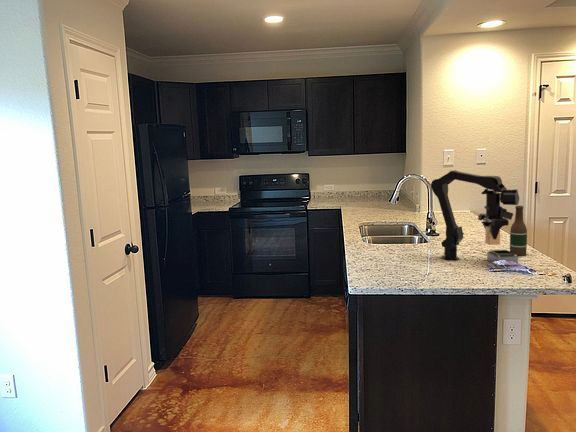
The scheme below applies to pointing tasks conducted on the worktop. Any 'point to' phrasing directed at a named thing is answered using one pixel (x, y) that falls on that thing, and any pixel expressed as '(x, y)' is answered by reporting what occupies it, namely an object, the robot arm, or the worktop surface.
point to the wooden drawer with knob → (491, 237)
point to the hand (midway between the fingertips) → (492, 238)
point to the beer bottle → (518, 234)
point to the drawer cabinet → (501, 256)
